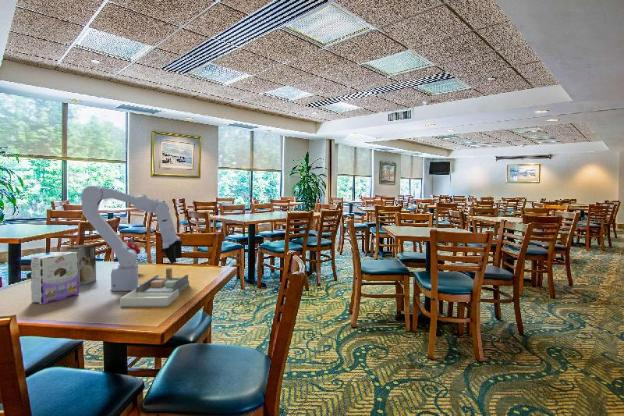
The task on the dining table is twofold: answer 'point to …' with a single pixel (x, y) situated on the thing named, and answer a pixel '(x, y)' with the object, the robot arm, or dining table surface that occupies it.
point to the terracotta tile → (157, 283)
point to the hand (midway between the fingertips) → (176, 260)
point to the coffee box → (85, 263)
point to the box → (148, 299)
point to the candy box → (54, 277)
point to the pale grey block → (168, 276)
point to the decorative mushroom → (133, 247)
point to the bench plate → (180, 285)
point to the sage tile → (170, 283)
